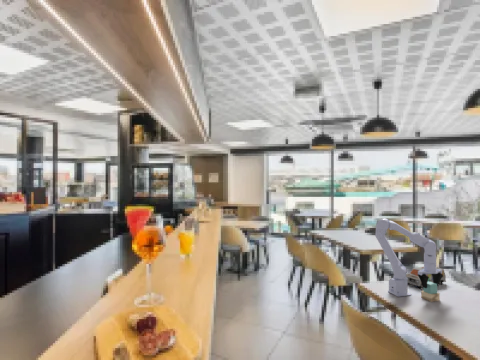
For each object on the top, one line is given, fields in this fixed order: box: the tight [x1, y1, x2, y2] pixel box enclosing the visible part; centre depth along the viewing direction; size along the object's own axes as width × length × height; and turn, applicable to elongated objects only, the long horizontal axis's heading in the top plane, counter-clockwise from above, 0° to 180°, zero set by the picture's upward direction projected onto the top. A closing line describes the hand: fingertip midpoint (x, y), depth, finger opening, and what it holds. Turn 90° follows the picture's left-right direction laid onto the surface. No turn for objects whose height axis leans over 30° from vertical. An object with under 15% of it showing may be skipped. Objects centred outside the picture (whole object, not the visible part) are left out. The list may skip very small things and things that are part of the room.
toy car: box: [406, 266, 447, 289], centre depth 182 cm, size 11×25×10 cm, turn 111°
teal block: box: [422, 282, 438, 294], centre depth 158 cm, size 4×4×5 cm
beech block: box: [420, 290, 441, 303], centre depth 158 cm, size 6×6×4 cm
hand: (430, 287), depth 158 cm, fingers open, 7 cm apart
